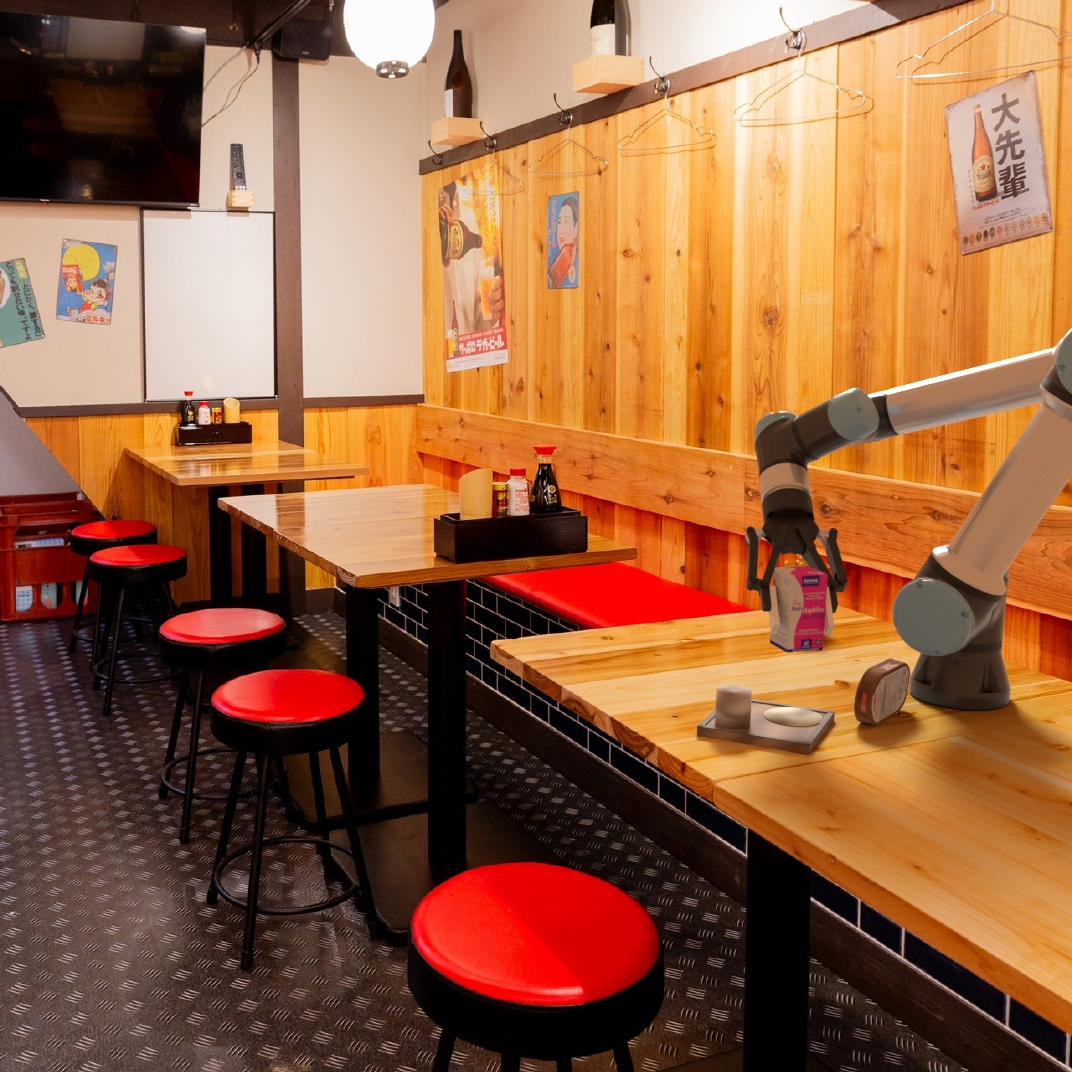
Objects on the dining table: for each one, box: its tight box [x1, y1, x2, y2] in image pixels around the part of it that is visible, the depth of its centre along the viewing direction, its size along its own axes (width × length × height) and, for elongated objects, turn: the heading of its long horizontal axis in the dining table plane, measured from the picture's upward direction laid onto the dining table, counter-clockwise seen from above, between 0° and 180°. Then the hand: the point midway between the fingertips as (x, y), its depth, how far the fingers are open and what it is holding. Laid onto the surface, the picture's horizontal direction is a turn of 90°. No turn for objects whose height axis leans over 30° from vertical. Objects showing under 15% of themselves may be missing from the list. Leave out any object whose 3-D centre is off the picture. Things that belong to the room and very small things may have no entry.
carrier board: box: [696, 684, 836, 755], centre depth 168 cm, size 16×16×6 cm
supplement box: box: [769, 566, 828, 654], centre depth 167 cm, size 6×6×12 cm
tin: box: [853, 657, 911, 726], centre depth 174 cm, size 15×3×8 cm, turn 141°
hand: (802, 629), depth 164 cm, fingers closed on supplement box, 7 cm apart
